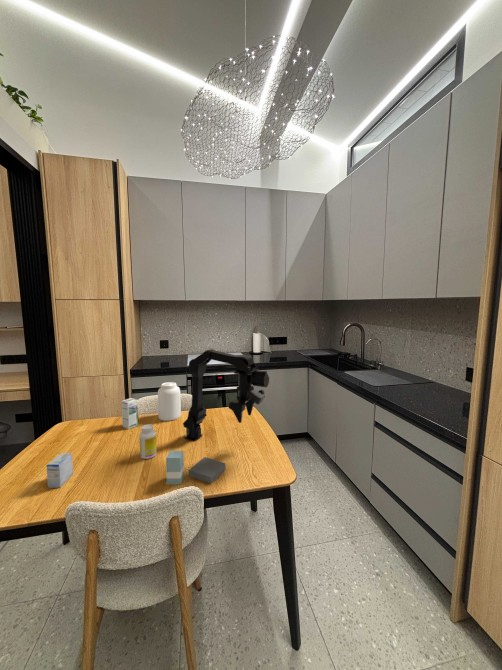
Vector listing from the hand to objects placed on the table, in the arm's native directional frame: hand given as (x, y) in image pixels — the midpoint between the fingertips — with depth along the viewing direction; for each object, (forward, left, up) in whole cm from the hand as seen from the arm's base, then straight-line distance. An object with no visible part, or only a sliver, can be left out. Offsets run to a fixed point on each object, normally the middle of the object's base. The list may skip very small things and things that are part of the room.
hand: (244, 418), depth 120 cm
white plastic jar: (-56, +14, -15) cm, 60 cm away
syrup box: (-66, -5, -15) cm, 68 cm away
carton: (-13, -30, -15) cm, 36 cm away
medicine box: (-50, -49, -15) cm, 72 cm away
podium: (-5, -21, -15) cm, 26 cm away
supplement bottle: (-35, -22, -15) cm, 44 cm away
